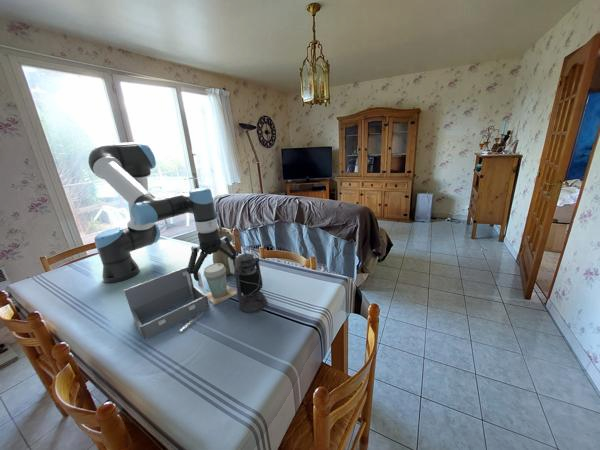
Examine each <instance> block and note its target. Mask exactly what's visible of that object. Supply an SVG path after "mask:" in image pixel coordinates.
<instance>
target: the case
mask: <svg viewBox="0 0 600 450" xmlns="http://www.w3.org/2000/svg"><path fill="white" fill-rule="evenodd" d="M187 268H188V265H187V266H183V267H181V268H179V269H176V270H173V271H170V272H168V273H165V274H162V275H160V276H157V277H155V278H151V279H148V280H146V281H144V282H140V283H138V284H136V285H133V286H130V287H127V288H125V289H123V292H124V295H125V298H126V300H127V303H128V306H129V309H130V312H131V315H132V318H133V320H134V321H133V322H134V323H135V325H136V328H137V330H138V331H139V333H140V335H141V336H142V339H143V341H146V340H148V339H150V338H152V337H153V336H156V335H158V334H160V333H162V332H164V331H166V330H167V329H169V328H172V327H174V326H175V325H177V324H179V323H182V322H184V321H186V320H188V319H189V318H191V317H194V316H196V315H197V314H198V313H200V312H204V311H205V310H206V309H208V308H210V305H209V300H208V299H207V296H206V295H205V294H206V293H204V292H203V291H202V290H201V289H199V287H197V286H196V285H195V284H194V282H193V278H192V274H189V273H188V272H187ZM195 298H196V299H195ZM189 299H195V300H193V301H191V302H189V303H186V304H184V305H182V306H180V307H178V308H176V309H173V310H171V311H169V312H168V313H165V314H162V315H160V316H159V317H157V318H155V319H153V320H151V321H148V322H146V323H144V324H142V322H141V321H144V320H146V319H147V318H150V317H153V316H155V315H157V314H159V313H160V312H163V311H166V310H168V309H169V308H172V307H174V306H177V305H179V304H181V303H182V302H183V303H184V301H187V300H189Z"/></svg>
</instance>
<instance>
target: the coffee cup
mask: <svg viewBox="0 0 600 450" xmlns="http://www.w3.org/2000/svg"><path fill="white" fill-rule="evenodd" d="M203 277H205V280H206V284H207V285H208V288H209V290H210V291H211V293H212V295H213V297H215V298H220V297H223V296H224V295H226V294H227V275H226V268H225V266H224V265H223V264H221V263H216V264H213V263H212V264H209V265H207V266H205V268H204V269H203Z"/></svg>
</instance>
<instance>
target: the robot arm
mask: <svg viewBox="0 0 600 450" xmlns="http://www.w3.org/2000/svg"><path fill="white" fill-rule="evenodd" d="M87 161H88V162H87V163H88V165H89V166H88V167H89V168H90V170H91V171H92V173H93V174H94V175H95V176H97V178H99V179H101V180H105V182H107V184H109V186H110V187H112V189H114V191H116V192H117V193H118V194H119V195H120V196H121V197H122V198H123V199H124V201H126V202H127V204H128V212H129V219H130V220H129V221H127V228H124V229H123V228H122V227H114V228H109V229H106V230H103V231H101V232H100V233H98V234H96V235H95V237H94V240H93V241H94V244H95V248H96V250H97V252H98V255H99V258H100V261H101V263H102V277H101V278H102V280H103V282H104V283H107V284H111V283H114V284H115V283H119V282H122V281H125V280H128V279H130V278H133V277H135V276H136V275H137V274H139V272H140V271H141V269H140V267H139V265H138V263H137V262H136V261H135V259H133V257H132V254H131V252H134V251H136V250H139V249H142V248H145V247H148V246H151V245H154V244H155V243H157V242H158V241H159V240H160V238H161V231H160V227H159V225H158V224H157V223H158V222H161V221H164V220H167V219H171V218H175V217H178V216H181V215H185V214H193V218H194V219H193V220H194V223H195V224H194V225H195V228H196V232H197V233H196V234H197V238H198V241H199V245H197V246H191V254H190V257H189V261H188V265H187V266H188V268H187V272H188V273H189V274H191V275H193V279H194V280H195V282H197V284H198V288H201V289H204V284H203V278H202V275H201V272H200V269H201V267H202V265H203V264H204V262H205V259H206V258H208V255H213V253H215V252H217V251H218V250H220V251H221V252H223V253H224V254H226V255H227V256H229V257H230V258H228V263H229V268H230V272H231V273H232V274H231V275H234V265H235V257H237V256H239V253H238V252H237V256H236V248H235V247H234V246H233V245H232V244H231V242H230V243H229V240H228V238H227V237H225V236H223V237H222V238H221V239H220V235H219V230H218V229H217V228H219V225H218V221H217V220H218V219H217V214H216V209H215V202H214V197H213V194H212V191H211V189H210V188H208V187H200V188H199V187H197V188H193V189H191V190H189V192H184V191H181V192H175V193H174V194H173V195H169V196H165V197H160V198H157V197H156V196H154V195H153V194H152V193H151V192H150V191H149V183H148V177H149V176H150V175H151V173H152V172H151V170H153V169H154V168H156V164H157V163H156V162H157V161H156V157H155V154H154V152H153V151H152V149H151V148H150V147H149V145H148V144H146V143H145V142H133V141H132V142H117V143H116V142H115V143H109V142H108V143H102V144H99V145H97V146H95V147H94V148H93V149H92V150H91V152H90V154H89V156H88V160H87ZM222 242H223V243H225V245H226V246H227V247H228V248H229V250H230V251H231V252H232V253H233V254H230V253H229V252H227V251H226V250H224V249H223V248H221V247H220V245H221V243H222ZM200 250H201V251H200ZM199 251H200V253H199ZM198 253H199V256H198Z"/></svg>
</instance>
